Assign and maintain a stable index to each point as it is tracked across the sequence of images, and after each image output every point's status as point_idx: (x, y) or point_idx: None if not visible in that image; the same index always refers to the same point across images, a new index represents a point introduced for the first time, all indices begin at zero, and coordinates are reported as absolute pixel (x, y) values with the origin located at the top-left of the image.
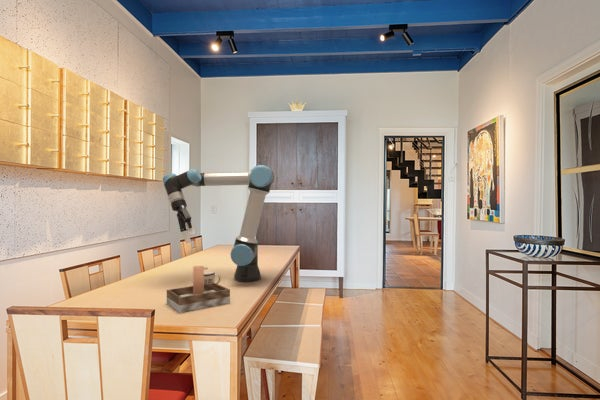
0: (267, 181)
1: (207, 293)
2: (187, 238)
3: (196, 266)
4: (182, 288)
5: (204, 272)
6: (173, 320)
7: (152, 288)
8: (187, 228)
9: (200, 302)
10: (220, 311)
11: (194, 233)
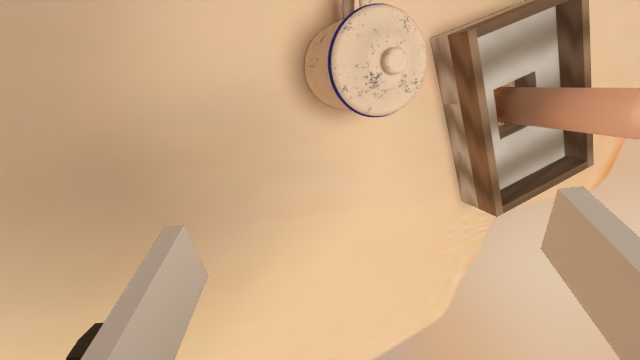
0: None
1: (590, 77)
2: (175, 293)
3: (635, 124)
4: (495, 165)
5: (417, 71)
6: None
7: (241, 292)
8: (625, 348)
9: None
10: None
11: (583, 198)
